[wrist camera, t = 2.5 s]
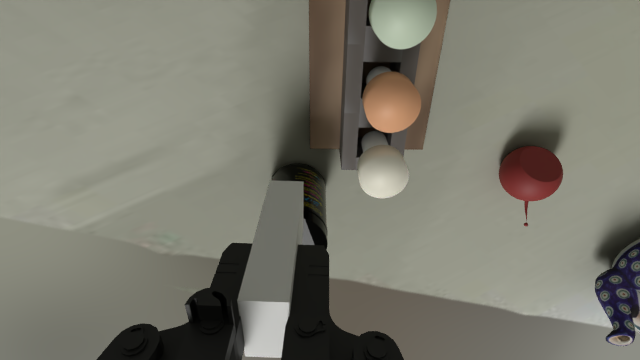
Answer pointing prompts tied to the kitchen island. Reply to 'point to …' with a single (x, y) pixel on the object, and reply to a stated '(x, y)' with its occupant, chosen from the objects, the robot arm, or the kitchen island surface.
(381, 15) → the sage button
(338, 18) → the button board
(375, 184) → the cream button
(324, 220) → the supplement container
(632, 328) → the teapot
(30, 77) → the kitchen island surface
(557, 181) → the fruit
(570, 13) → the kitchen island surface
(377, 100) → the orange capped peg
